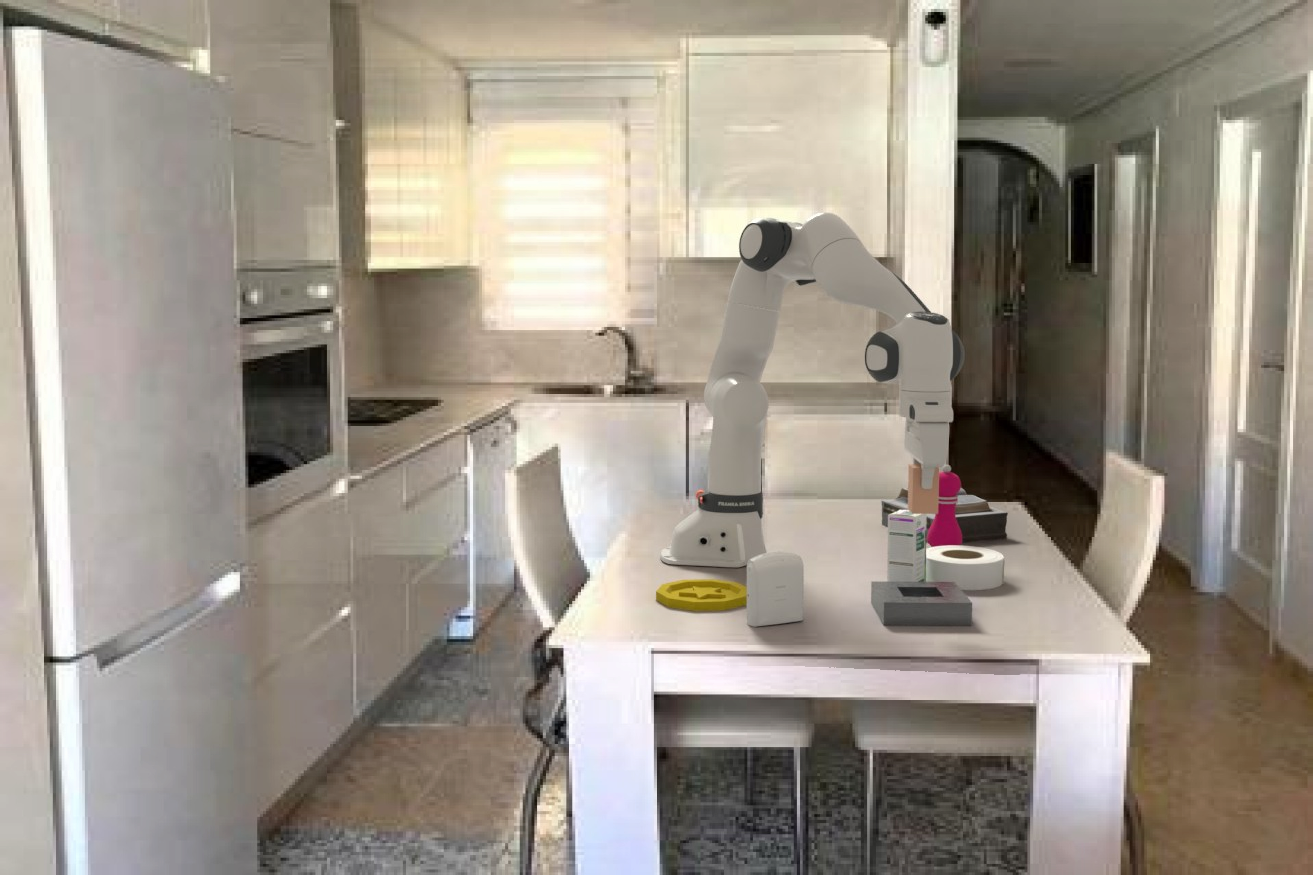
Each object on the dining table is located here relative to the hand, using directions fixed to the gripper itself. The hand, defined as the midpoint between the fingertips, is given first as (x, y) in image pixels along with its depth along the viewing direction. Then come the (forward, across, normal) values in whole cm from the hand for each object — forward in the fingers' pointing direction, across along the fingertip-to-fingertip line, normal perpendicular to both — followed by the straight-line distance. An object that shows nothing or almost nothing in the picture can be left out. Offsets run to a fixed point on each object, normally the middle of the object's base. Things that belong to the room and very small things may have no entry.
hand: (923, 485), depth 231 cm
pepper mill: (+23, -44, +13) cm, 51 cm away
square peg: (+5, 0, 0) cm, 5 cm away
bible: (+24, -73, +18) cm, 79 cm away
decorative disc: (+24, -10, -38) cm, 46 cm away
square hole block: (+23, 0, 0) cm, 23 cm away
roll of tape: (+24, -25, +13) cm, 37 cm away
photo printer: (+23, +6, -26) cm, 35 cm away
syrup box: (+23, -20, +1) cm, 31 cm away
